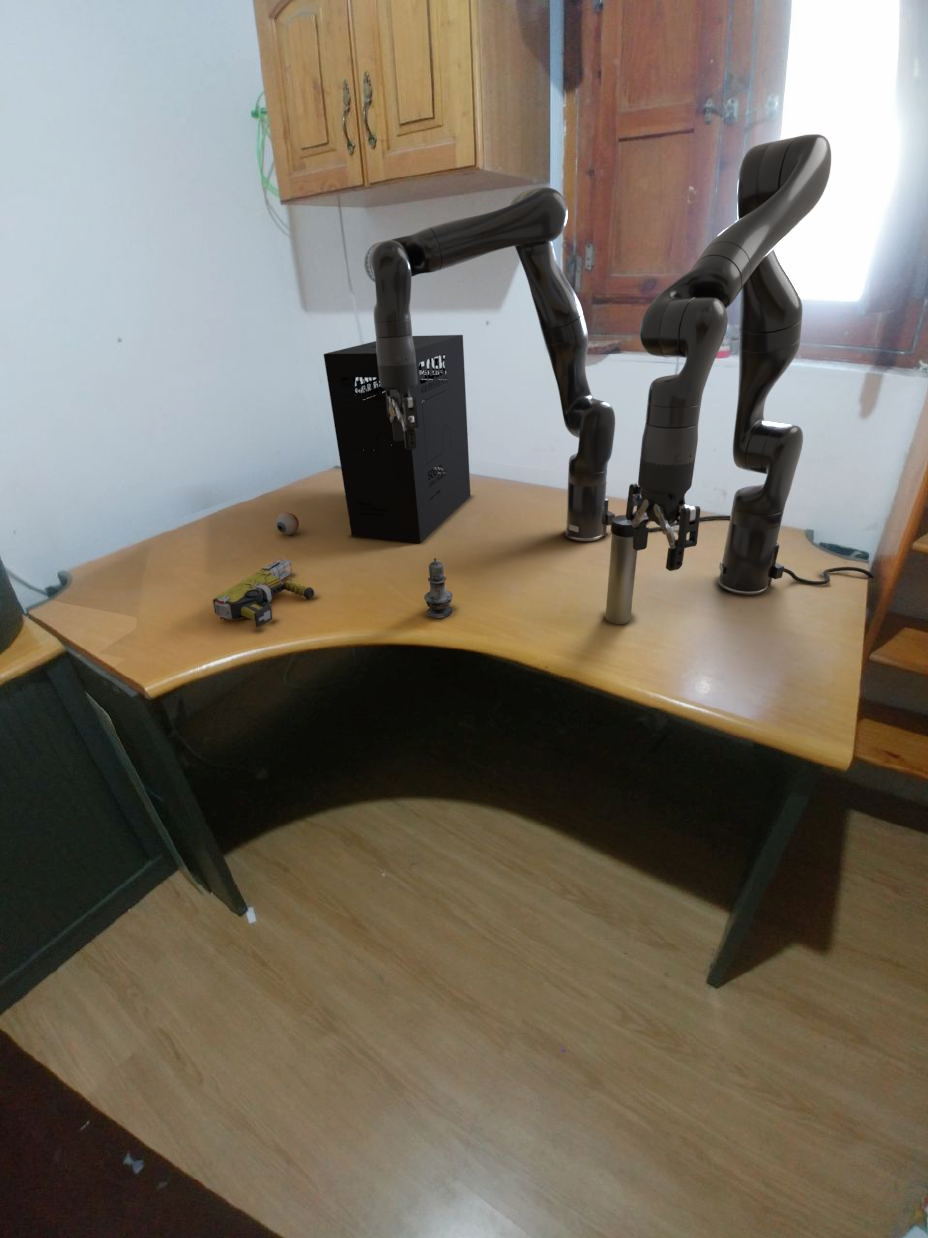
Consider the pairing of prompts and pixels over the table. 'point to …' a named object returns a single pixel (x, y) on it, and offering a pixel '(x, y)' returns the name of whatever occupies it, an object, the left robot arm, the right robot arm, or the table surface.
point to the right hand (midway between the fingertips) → (655, 558)
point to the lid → (622, 526)
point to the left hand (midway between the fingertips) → (404, 444)
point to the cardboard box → (383, 468)
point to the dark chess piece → (438, 592)
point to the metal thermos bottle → (621, 580)
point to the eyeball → (287, 523)
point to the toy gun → (258, 594)
